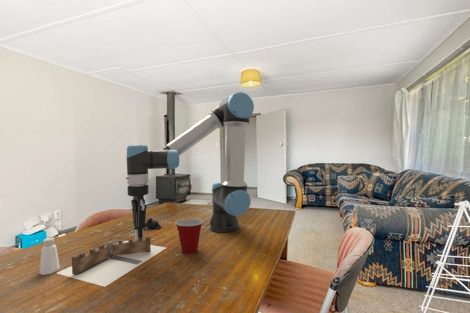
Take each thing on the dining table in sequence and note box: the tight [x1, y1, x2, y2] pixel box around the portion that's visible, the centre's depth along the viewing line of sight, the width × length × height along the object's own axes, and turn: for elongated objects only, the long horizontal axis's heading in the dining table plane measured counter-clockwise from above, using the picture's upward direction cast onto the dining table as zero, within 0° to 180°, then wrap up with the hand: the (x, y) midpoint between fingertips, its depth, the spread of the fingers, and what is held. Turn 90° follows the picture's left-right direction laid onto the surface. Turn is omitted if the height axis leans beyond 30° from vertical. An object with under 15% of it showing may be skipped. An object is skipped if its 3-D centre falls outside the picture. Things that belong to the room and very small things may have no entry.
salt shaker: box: [39, 237, 61, 276], centre depth 76 cm, size 5×5×11 cm
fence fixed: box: [71, 244, 109, 275], centre depth 78 cm, size 12×2×6 cm, turn 159°
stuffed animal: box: [143, 217, 162, 233], centre depth 116 cm, size 12×10×12 cm
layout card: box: [56, 240, 167, 288], centre depth 83 cm, size 22×28×1 cm
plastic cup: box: [175, 218, 204, 255], centre depth 90 cm, size 11×11×12 cm
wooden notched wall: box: [106, 235, 152, 257], centre depth 87 cm, size 15×2×6 cm, turn 106°
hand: (139, 244), depth 89 cm, fingers closed
